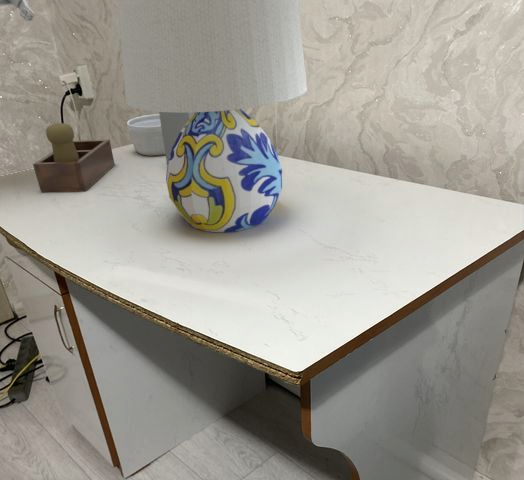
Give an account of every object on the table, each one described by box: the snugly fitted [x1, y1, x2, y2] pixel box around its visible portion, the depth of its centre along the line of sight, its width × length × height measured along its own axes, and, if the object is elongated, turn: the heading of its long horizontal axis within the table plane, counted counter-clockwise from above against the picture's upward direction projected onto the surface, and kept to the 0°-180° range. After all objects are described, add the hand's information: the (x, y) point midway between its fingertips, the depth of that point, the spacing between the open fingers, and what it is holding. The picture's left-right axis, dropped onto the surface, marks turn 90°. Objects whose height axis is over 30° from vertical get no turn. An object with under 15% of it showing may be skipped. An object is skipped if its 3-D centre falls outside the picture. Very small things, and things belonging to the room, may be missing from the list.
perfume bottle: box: [158, 112, 195, 165], centre depth 114 cm, size 7×7×18 cm
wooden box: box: [32, 139, 116, 193], centre depth 113 cm, size 10×18×6 cm, turn 174°
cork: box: [45, 122, 79, 162], centre depth 108 cm, size 6×6×11 cm
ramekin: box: [126, 113, 166, 157], centre depth 129 cm, size 13×13×7 cm
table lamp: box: [117, 0, 308, 233], centre depth 80 cm, size 27×27×40 cm
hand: (14, 20), depth 96 cm, fingers open, 8 cm apart
